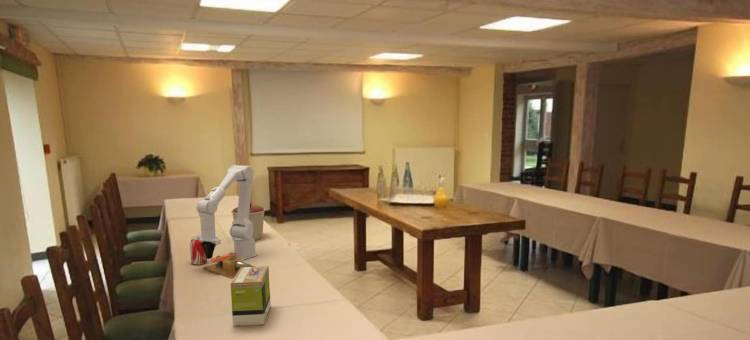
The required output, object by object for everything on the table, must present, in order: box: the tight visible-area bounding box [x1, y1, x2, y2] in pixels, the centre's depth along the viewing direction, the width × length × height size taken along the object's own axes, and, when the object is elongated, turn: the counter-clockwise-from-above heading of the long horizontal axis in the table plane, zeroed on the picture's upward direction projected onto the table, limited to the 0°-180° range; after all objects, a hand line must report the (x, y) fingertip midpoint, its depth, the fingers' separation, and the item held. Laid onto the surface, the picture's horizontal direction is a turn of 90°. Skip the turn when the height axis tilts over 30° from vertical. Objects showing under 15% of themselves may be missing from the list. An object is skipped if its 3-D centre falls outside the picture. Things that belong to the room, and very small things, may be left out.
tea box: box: [230, 265, 272, 327], centre depth 146 cm, size 15×10×15 cm
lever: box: [210, 252, 238, 264], centre depth 190 cm, size 12×3×2 cm, turn 145°
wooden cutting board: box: [202, 255, 256, 279], centre depth 193 cm, size 21×14×5 cm, turn 55°
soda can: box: [189, 235, 208, 266], centre depth 201 cm, size 7×7×12 cm
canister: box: [230, 201, 266, 242], centre depth 240 cm, size 18×18×21 cm
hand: (209, 258), depth 190 cm, fingers closed
